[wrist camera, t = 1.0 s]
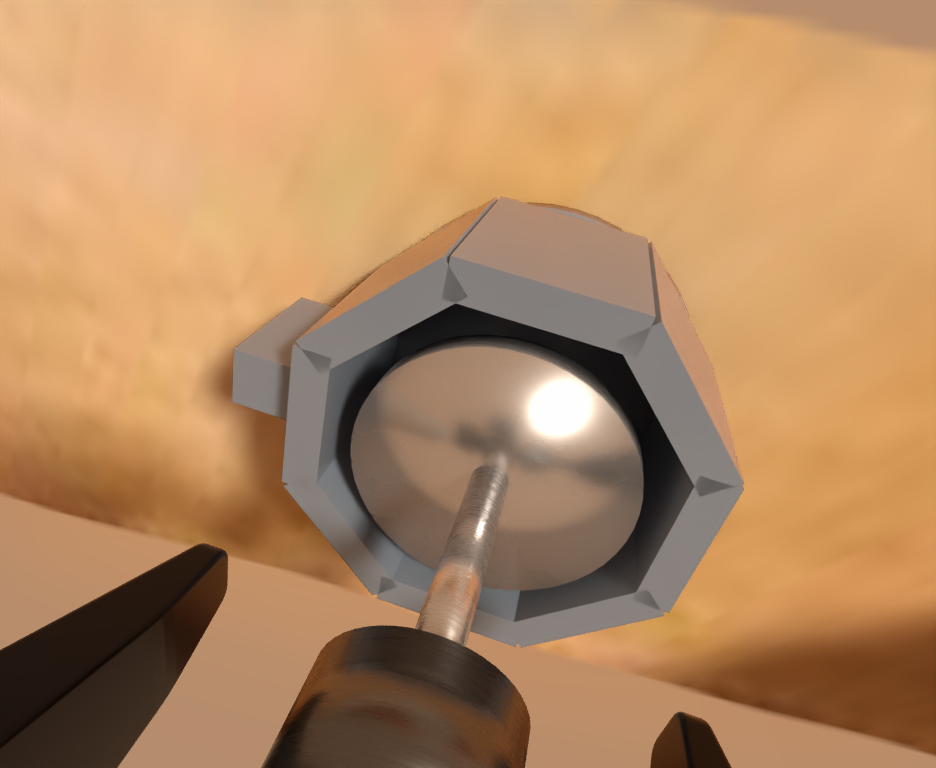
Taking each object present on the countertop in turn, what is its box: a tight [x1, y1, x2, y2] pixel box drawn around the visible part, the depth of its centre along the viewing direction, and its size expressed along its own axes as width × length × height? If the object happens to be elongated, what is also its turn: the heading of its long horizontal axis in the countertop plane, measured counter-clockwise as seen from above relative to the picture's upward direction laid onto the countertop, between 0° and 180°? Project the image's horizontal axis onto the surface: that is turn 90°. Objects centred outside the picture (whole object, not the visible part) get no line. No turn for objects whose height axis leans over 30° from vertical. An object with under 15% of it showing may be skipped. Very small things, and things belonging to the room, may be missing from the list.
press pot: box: [232, 196, 744, 648], centre depth 15 cm, size 10×9×6 cm
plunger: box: [261, 335, 644, 768], centre depth 10 cm, size 6×6×8 cm
